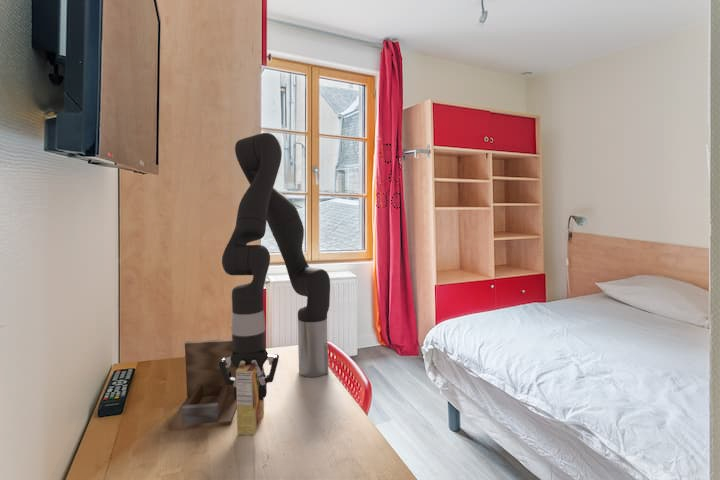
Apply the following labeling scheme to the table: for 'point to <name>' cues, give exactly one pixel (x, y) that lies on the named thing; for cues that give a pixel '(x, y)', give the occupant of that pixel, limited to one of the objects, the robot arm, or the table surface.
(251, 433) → the candy box
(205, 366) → the board
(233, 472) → the table surface
